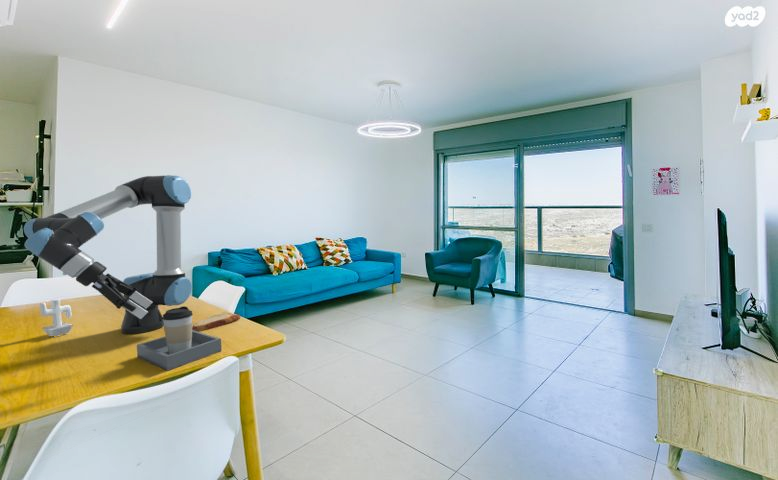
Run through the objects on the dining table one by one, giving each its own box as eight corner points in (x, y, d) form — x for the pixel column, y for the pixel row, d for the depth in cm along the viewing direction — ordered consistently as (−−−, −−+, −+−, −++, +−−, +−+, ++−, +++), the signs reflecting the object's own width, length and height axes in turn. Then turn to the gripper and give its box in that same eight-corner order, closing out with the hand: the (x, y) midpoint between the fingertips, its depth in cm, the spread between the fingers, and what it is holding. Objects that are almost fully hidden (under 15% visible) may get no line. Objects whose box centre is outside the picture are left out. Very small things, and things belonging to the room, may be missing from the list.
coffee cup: (181, 357, 117) (178, 313, 116) (158, 355, 119) (155, 312, 118) (200, 347, 126) (198, 306, 125) (179, 345, 128) (176, 305, 126)
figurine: (77, 332, 146) (74, 297, 145) (48, 340, 138) (44, 302, 136) (68, 330, 149) (64, 295, 148) (38, 337, 141) (35, 300, 139)
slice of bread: (189, 333, 145) (188, 324, 144) (199, 320, 162) (199, 312, 162) (236, 328, 150) (236, 320, 149) (241, 316, 167) (241, 309, 167)
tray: (137, 357, 120) (136, 344, 120) (190, 340, 135) (189, 329, 135) (167, 370, 110) (166, 356, 109) (221, 350, 125) (220, 338, 124)
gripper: (85, 272, 118) (142, 310, 127) (60, 286, 96) (131, 330, 105) (104, 255, 120) (159, 293, 129) (84, 265, 98) (152, 310, 107)
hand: (147, 310), depth 117 cm, fingers open, 13 cm apart
